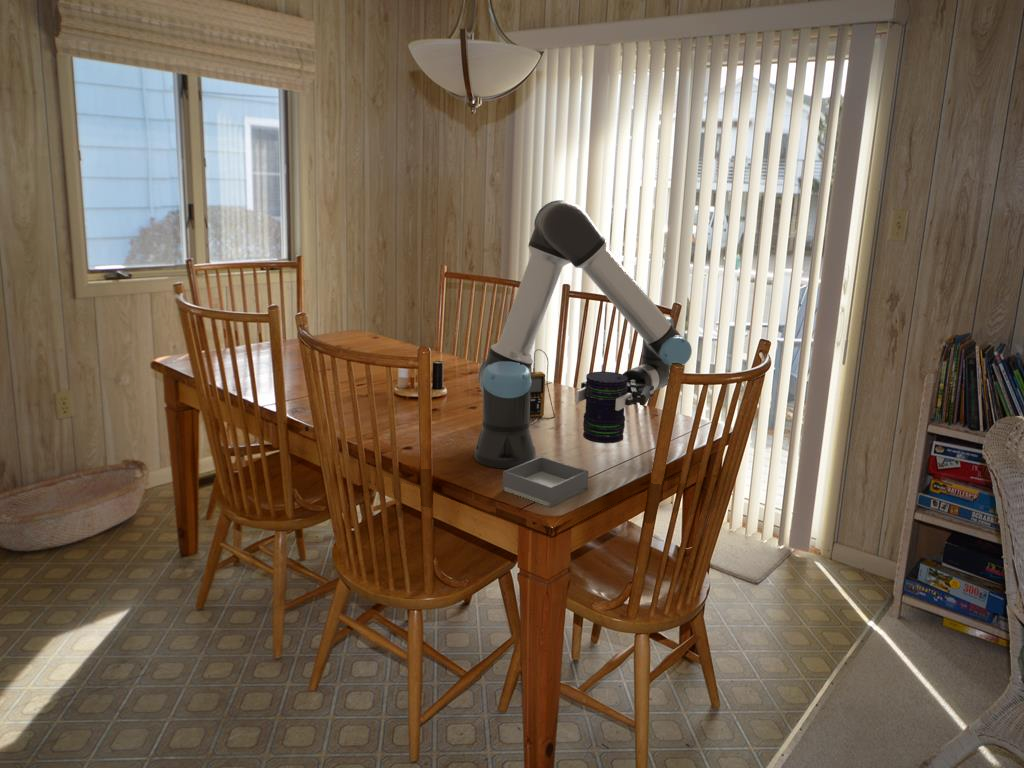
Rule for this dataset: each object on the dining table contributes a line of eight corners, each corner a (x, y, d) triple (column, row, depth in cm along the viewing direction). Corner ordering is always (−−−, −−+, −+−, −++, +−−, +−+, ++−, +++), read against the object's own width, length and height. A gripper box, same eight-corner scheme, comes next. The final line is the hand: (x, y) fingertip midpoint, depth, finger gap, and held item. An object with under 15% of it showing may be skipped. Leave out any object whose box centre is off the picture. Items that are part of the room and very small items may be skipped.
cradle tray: (502, 490, 175) (503, 471, 174) (540, 474, 185) (541, 456, 184) (550, 507, 167) (551, 487, 166) (587, 489, 177) (588, 471, 176)
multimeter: (514, 426, 220) (516, 357, 215) (505, 416, 229) (507, 349, 224) (564, 423, 224) (567, 355, 219) (553, 413, 233) (555, 347, 228)
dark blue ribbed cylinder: (578, 440, 185) (582, 379, 181) (586, 428, 194) (589, 369, 190) (620, 445, 182) (625, 383, 178) (626, 433, 191) (630, 373, 187)
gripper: (678, 404, 194) (639, 425, 177) (599, 388, 207) (554, 407, 189) (681, 374, 192) (642, 393, 175) (600, 360, 205) (556, 377, 187)
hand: (596, 400), depth 182 cm, fingers closed on dark blue ribbed cylinder, 10 cm apart
